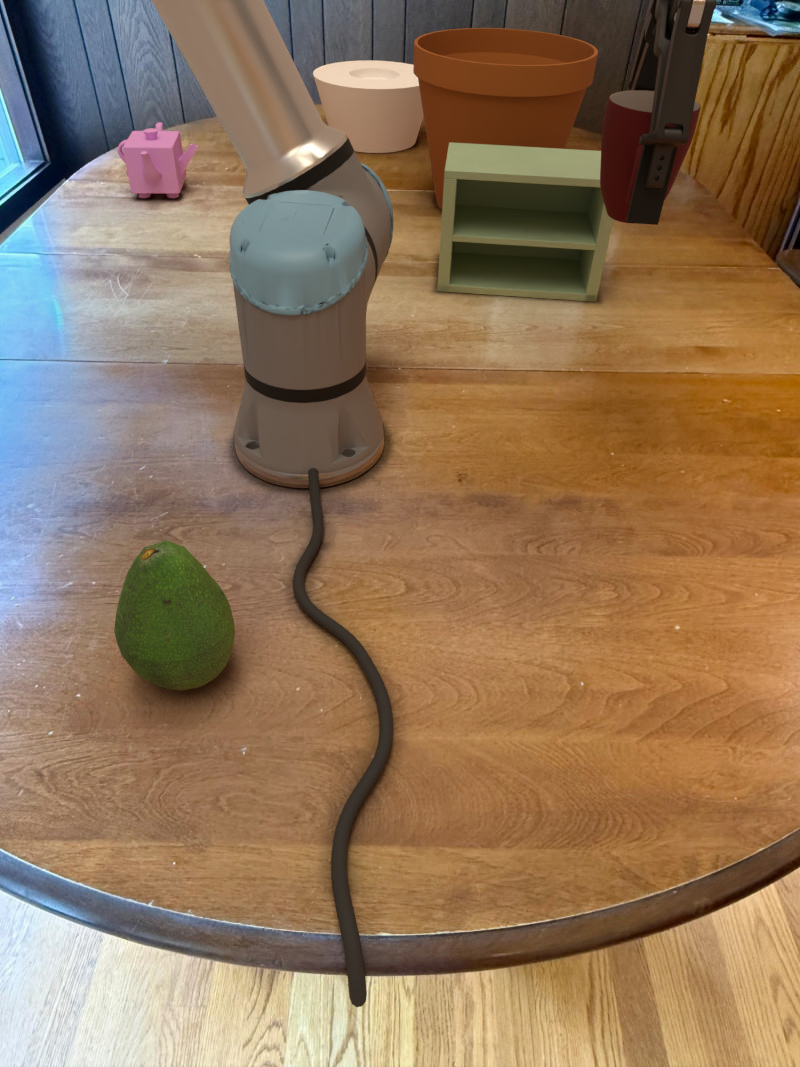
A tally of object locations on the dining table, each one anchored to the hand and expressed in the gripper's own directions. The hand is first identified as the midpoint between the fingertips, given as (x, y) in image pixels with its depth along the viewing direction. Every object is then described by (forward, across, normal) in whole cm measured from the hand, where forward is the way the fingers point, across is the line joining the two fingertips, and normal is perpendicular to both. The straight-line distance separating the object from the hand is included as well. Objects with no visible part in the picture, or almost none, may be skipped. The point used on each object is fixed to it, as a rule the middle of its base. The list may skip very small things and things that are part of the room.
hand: (633, 200), depth 73 cm
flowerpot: (+22, +62, +12) cm, 67 cm away
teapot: (+19, +57, +68) cm, 91 cm away
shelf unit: (+22, +32, +8) cm, 40 cm away
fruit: (+23, -42, +33) cm, 58 cm away
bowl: (+23, +95, +36) cm, 104 cm away
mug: (+2, 0, 0) cm, 2 cm away
